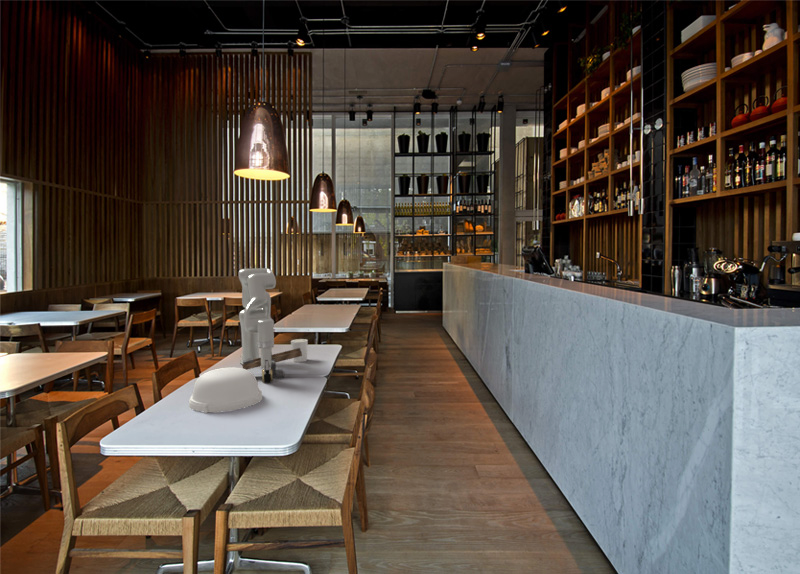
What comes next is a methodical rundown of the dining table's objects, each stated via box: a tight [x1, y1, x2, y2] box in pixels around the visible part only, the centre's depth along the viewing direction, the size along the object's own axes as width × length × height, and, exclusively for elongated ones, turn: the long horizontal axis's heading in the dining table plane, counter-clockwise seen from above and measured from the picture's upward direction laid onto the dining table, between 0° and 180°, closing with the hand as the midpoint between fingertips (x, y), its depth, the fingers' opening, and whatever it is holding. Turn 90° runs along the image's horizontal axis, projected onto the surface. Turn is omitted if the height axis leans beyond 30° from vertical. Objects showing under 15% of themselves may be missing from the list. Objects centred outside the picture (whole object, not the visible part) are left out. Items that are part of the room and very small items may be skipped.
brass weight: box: [261, 368, 274, 384], centre depth 240 cm, size 5×5×6 cm
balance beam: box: [241, 348, 302, 370], centre depth 253 cm, size 30×8×4 cm, turn 106°
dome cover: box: [188, 366, 263, 414], centre depth 209 cm, size 32×30×14 cm
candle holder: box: [290, 338, 309, 363], centre depth 286 cm, size 10×10×12 cm
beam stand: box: [270, 359, 285, 380], centre depth 253 cm, size 10×15×9 cm, turn 16°
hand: (267, 380), depth 241 cm, fingers closed on brass weight, 5 cm apart
